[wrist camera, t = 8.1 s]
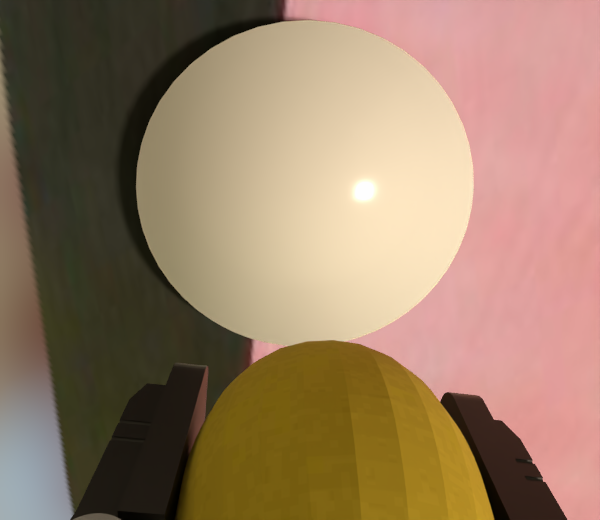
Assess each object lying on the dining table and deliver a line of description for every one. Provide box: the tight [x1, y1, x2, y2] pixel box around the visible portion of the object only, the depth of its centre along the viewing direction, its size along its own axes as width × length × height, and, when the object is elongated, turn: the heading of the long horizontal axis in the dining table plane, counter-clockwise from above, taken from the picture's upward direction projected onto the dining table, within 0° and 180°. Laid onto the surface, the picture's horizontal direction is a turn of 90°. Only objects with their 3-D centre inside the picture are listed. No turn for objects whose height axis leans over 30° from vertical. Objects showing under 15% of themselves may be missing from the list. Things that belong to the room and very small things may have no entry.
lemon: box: [175, 340, 495, 520], centre depth 8 cm, size 6×6×8 cm
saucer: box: [136, 20, 474, 346], centre depth 24 cm, size 18×18×1 cm
